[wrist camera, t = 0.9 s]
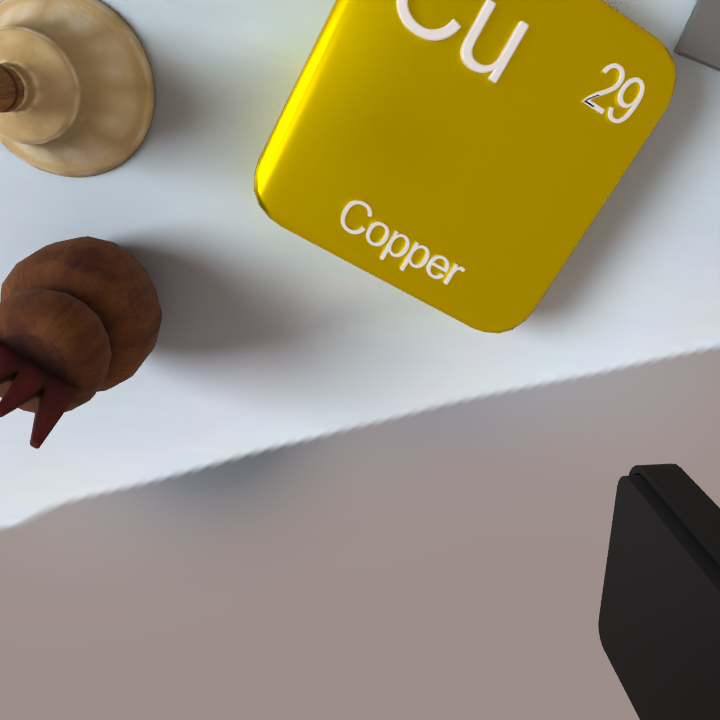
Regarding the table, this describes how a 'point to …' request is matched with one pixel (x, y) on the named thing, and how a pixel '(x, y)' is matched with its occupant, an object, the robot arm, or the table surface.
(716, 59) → the mat
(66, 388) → the wooden figurine
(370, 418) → the table surface
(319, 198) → the element tile
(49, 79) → the hand bell
